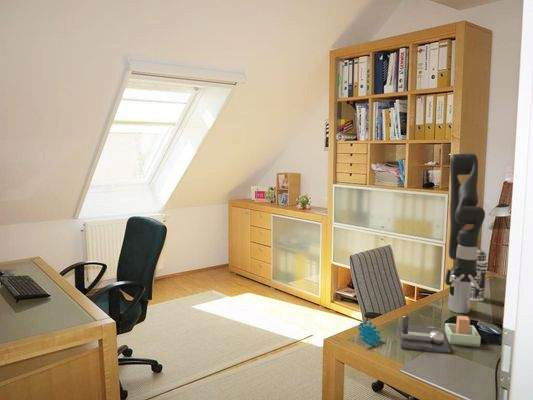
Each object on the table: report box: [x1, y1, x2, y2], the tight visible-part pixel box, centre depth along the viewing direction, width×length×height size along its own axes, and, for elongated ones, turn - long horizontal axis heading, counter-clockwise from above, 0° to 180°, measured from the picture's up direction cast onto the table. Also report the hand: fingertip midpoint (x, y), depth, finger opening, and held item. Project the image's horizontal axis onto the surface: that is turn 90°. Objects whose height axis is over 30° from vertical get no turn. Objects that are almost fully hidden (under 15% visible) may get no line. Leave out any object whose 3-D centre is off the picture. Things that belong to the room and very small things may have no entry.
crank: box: [402, 314, 445, 344], centre depth 172 cm, size 16×5×9 cm, turn 78°
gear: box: [357, 320, 382, 347], centre depth 174 cm, size 11×6×10 cm
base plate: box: [395, 323, 452, 354], centre depth 177 cm, size 20×18×2 cm
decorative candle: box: [470, 249, 488, 302], centre depth 225 cm, size 9×9×25 cm
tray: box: [444, 322, 481, 347], centre depth 177 cm, size 11×11×4 cm
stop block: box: [455, 315, 471, 335], centre depth 177 cm, size 4×4×8 cm
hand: (463, 296), depth 175 cm, fingers open, 8 cm apart
